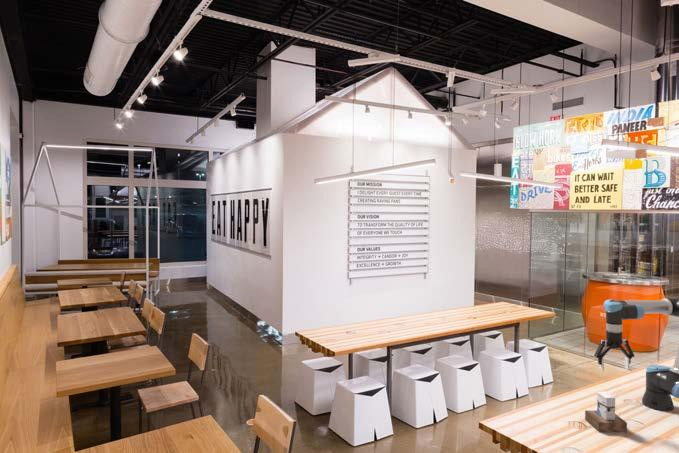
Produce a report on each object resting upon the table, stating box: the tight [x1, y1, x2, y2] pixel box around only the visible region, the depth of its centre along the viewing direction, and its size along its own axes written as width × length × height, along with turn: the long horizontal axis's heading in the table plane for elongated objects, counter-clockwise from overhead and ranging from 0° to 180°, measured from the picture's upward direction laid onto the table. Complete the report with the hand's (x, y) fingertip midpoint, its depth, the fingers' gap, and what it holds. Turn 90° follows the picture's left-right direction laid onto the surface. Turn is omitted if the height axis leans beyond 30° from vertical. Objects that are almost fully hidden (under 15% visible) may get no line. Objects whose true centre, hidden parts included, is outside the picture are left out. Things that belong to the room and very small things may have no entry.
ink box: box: [596, 391, 616, 420], centre depth 241 cm, size 8×5×12 cm, turn 2°
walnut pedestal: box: [584, 410, 628, 433], centre depth 241 cm, size 14×14×5 cm
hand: (614, 370), depth 249 cm, fingers open, 13 cm apart
